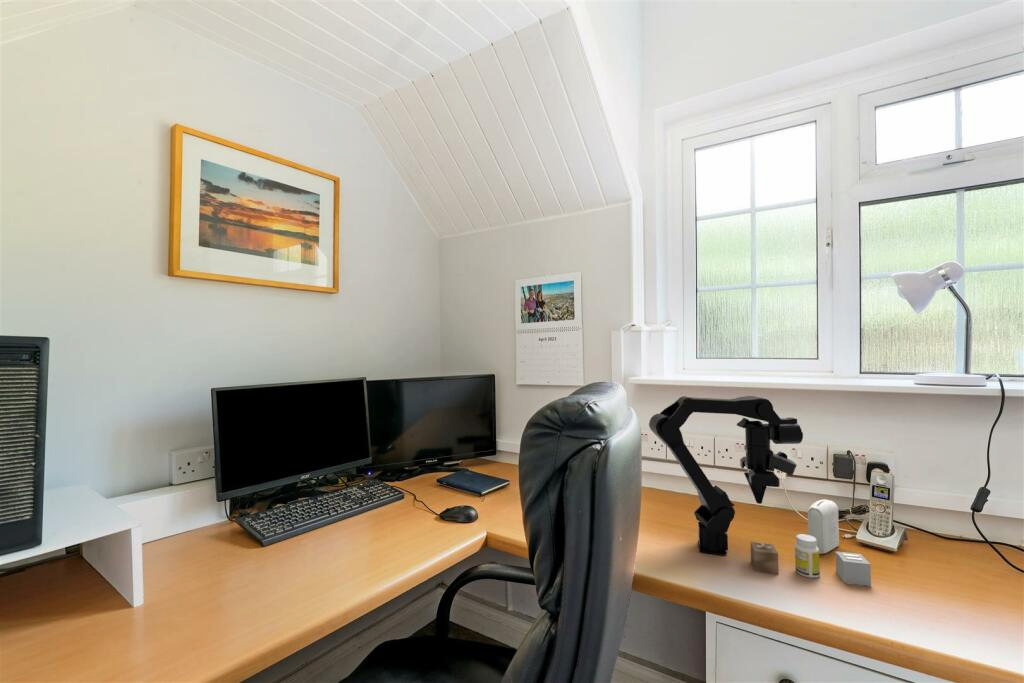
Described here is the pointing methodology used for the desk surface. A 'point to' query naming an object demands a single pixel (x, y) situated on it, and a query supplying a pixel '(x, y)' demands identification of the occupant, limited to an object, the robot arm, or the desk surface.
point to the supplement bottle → (807, 556)
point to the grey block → (853, 568)
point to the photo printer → (824, 525)
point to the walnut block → (764, 558)
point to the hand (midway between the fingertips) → (759, 503)
